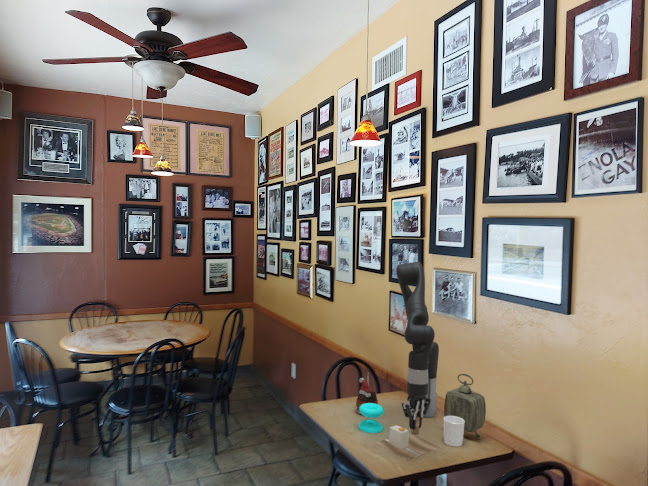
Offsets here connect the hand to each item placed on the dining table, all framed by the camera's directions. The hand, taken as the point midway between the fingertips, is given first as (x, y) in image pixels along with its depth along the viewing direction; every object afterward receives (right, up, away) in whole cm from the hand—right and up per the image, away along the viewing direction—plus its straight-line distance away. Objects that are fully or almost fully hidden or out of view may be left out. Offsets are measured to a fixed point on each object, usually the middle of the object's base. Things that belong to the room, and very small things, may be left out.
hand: (415, 427), depth 159 cm
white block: (-5, -9, +6) cm, 12 cm away
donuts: (-14, -10, +21) cm, 27 cm away
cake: (-14, -10, +40) cm, 44 cm away
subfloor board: (-2, -10, +7) cm, 12 cm away
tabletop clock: (+23, -12, +20) cm, 33 cm away
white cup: (+17, -11, +11) cm, 23 cm away
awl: (0, -2, 0) cm, 2 cm away
